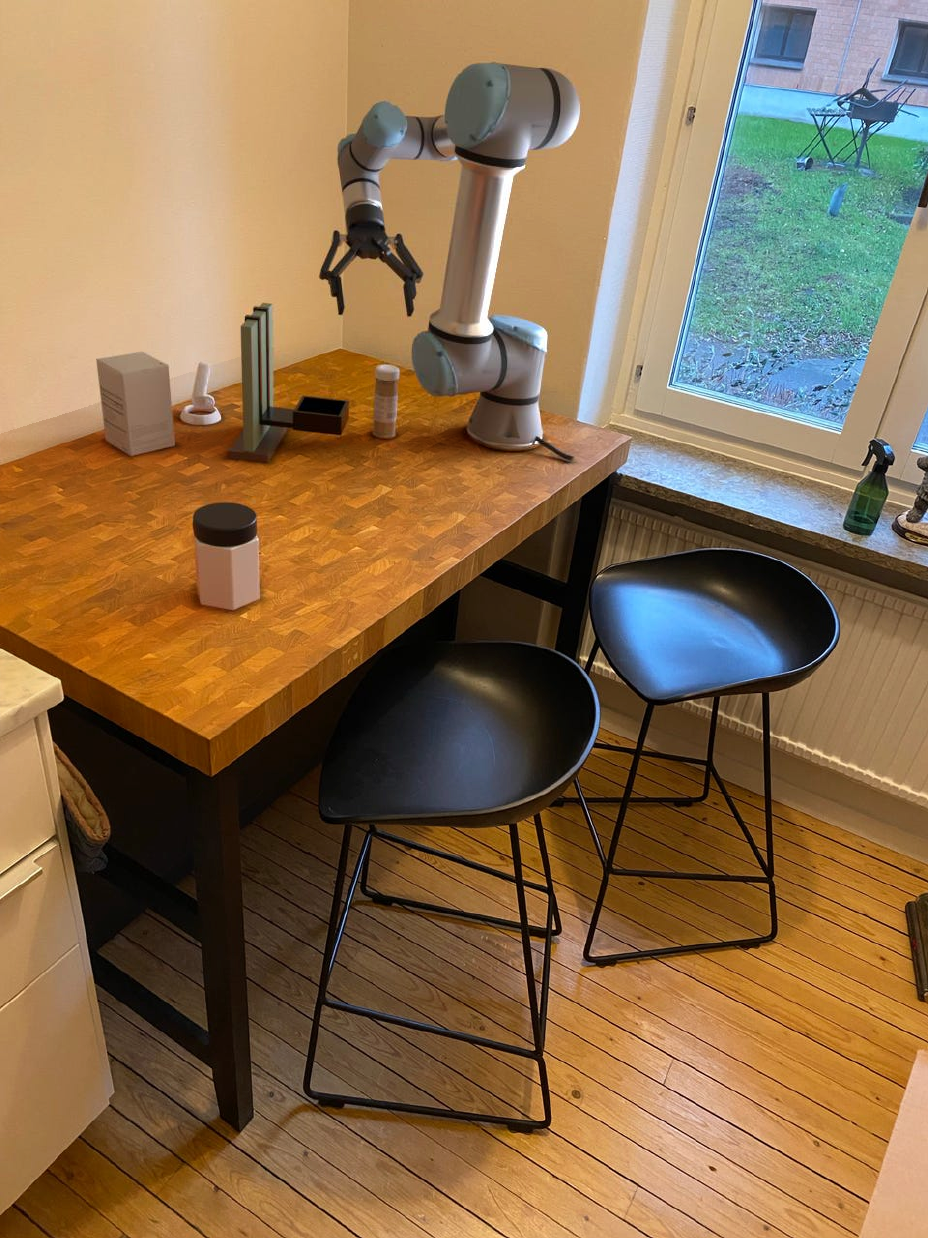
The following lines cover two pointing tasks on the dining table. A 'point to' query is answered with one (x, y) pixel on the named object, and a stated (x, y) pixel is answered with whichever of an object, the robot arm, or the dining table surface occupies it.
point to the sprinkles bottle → (385, 401)
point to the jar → (226, 555)
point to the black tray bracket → (309, 410)
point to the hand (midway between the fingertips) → (376, 312)
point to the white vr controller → (201, 400)
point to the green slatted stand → (256, 394)
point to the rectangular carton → (136, 402)
